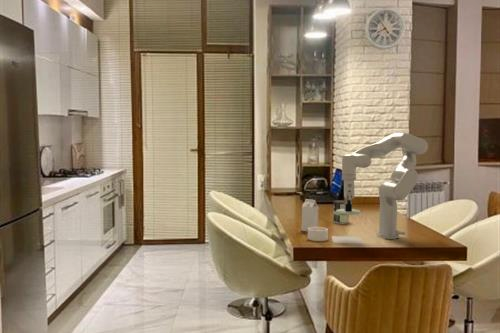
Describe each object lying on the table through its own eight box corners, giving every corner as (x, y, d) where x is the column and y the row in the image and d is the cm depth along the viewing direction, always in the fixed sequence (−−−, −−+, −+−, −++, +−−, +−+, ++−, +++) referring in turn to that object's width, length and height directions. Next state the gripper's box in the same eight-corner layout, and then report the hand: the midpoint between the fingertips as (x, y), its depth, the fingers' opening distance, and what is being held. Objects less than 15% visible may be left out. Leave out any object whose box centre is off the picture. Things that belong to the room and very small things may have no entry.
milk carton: (307, 229, 300) (308, 198, 299) (317, 230, 296) (318, 199, 294) (301, 230, 295) (302, 199, 293) (311, 232, 290) (312, 200, 289)
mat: (360, 237, 277) (360, 237, 277) (363, 244, 261) (363, 243, 261) (331, 236, 279) (331, 236, 279) (333, 243, 263) (333, 242, 263)
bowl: (327, 237, 277) (327, 227, 276) (328, 242, 266) (328, 231, 265) (307, 237, 278) (307, 226, 277) (307, 241, 267) (308, 230, 267)
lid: (358, 210, 275) (358, 201, 275) (361, 214, 262) (361, 205, 262) (335, 210, 276) (335, 201, 276) (337, 214, 263) (337, 205, 263)
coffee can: (331, 223, 321) (332, 201, 320) (334, 220, 330) (335, 199, 329) (347, 224, 317) (348, 202, 316) (349, 221, 327) (350, 200, 326)
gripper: (357, 178, 259) (356, 213, 260) (354, 175, 276) (353, 208, 277) (343, 178, 260) (342, 213, 261) (340, 175, 276) (340, 207, 278)
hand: (348, 210), depth 269 cm, fingers closed on lid, 4 cm apart
